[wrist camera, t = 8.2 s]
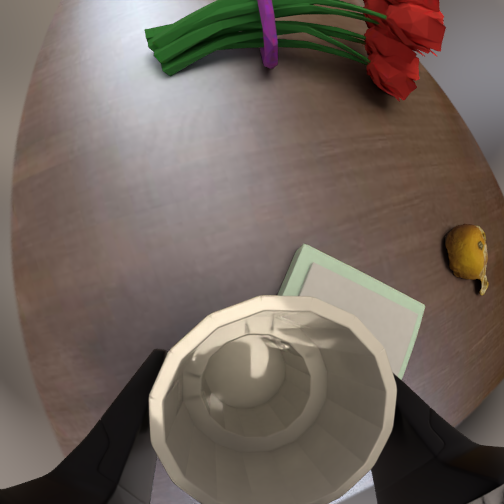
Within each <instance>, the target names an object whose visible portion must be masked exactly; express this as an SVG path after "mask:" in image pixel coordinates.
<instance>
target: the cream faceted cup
mask: <svg viewBox="0 0 504 504" xmlns="http://www.w3.org/2000/svg"><path fill="white" fill-rule="evenodd" d="M396 387H397V386H396V382H395V379H394V375H393V372H392V369H391V366H390V362H389V359H388V356H387V353H386V350H385V349H384V347H383V345H382V344H381V343H380V342H379V341H378V340H377V339H376V337H375V336H374V335H373V334H372V333H371V332H370V331H369V330H368V328H367V327H366V326H365V325H364V324H363V323H362V322H361V321H360V320H359V318H358V317H356V316H355V315H354V314H351V313H349V312H347V311H345V310H342V309H340V308H338V307H336V306H333V305H331V304H329V303H327V302H325V301H322V300H320V299H318V298H316V297H312V296H279V295H262V296H257V297H254V298H251V299H249V300H246V301H243V302H241V303H238V304H235V305H232V306H230V307H227V308H224V309H221V310H219V311H216V312H213V313H211V314H210V315H207V316H206V317H205V318H204V319H203V320H202V321H201V322H200V323H199V324H198V325H196V326H195V327H194V328H193V329H192V330H191V331H190V332H189V333H188V334H186V335H185V336H184V337H183V338H182V339H181V340H180V341H179V342H178V343H176V344H175V345H174V346H173V347H172V348H171V349H170V351H169V352H168V354H167V356H166V358H165V360H164V362H163V365H162V367H161V369H160V371H159V374H158V376H157V378H156V380H155V383H154V385H153V387H152V390H151V392H150V394H149V396H150V397H149V422H150V440H151V444H152V446H153V448H154V450H155V452H156V454H157V456H158V458H159V459H160V461H161V463H162V465H163V466H164V468H165V470H166V472H167V473H168V475H169V477H170V478H171V480H172V482H174V484H175V485H177V486H178V487H179V488H181V489H182V490H183V491H185V492H186V493H187V494H189V495H190V496H191V497H193V498H194V499H196V500H197V501H199V502H200V503H201V504H328V503H330V502H332V501H334V500H336V499H338V498H340V497H341V496H343V495H344V494H345V493H346V492H347V491H349V490H350V489H351V488H352V487H353V486H354V485H355V484H356V483H357V482H358V481H359V480H360V479H361V478H362V477H364V476H365V475H366V474H367V473H368V472H369V471H370V470H371V469H372V467H373V466H374V465H375V463H376V461H377V459H378V457H379V455H380V454H381V452H382V450H383V448H384V446H385V444H386V442H387V440H388V438H389V436H390V434H391V431H392V428H393V423H394V415H395V405H396V395H397V388H396Z"/></svg>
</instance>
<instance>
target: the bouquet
mask: <svg viewBox="0 0 504 504" xmlns="http://www.w3.org/2000/svg"><path fill="white" fill-rule="evenodd" d="M363 1H364V3H365V7H360V6H356V5H353V4H350V3H346V2H343V1H339V0H217V1H215V2H213V3H211V4H209V5H207V6H205V7H203V8H201V9H199V10H197V11H195V12H193V13H191V14H189V15H188V16H186V17H184V18H182V19H180V20H179V21H177V22H175V23H174V24H170V25H165V26H160V27H155V28H151V29H145V34H146V39H147V42H148V47H149V48H150V49H151V50H152V51H153V52H154V56H155V57H156V59H157V60H158V61H159V62H160V63H161V66H162V70H163V72H165V73H166V74H168V75H169V76H172V75H173V74H175V73H177V72H178V71H180V70H182V69H183V68H185V67H187V66H188V65H190V64H192V63H194V62H195V61H197V60H199V59H201V58H203V57H205V56H206V55H208V54H210V53H212V52H214V51H216V50H225V49H236V48H258V47H260V52H261V56H262V61H263V64H264V66H265V67H268V68H271V69H272V68H274V67H275V66H276V65H278V47H293V48H310V49H314V50H318V51H323V52H327V53H331V54H335V55H338V56H342V57H346V58H349V59H352V60H355V61H357V62H360V63H362V64H365V65H367V75H369V76H371V78H372V80H373V82H374V84H376V85H377V86H378V87H379V88H380V89H382V90H383V91H385V92H386V93H388V94H390V95H392V96H394V97H395V98H396V99H397V100H398V101H399V102H400V100H399V98H401V99H402V100H405V99H406V98H407V96H408V95H409V94H410V93H411V92H412V91H413V90H415V89H416V88H417V86H416V85H415V82H414V81H413V80H415V81H416V80H419V69H418V65H419V58H417V57H415V56H416V53H415V52H414V51H417V52H419V53H420V54H421V55H423V54H422V53H421V52H420V51H423V52H425V53H429V52H432V51H431V50H430V48H431V49H434V50H436V51H441V44H442V40H443V36H444V32H445V29H446V27H445V26H444V25H443V22H442V21H444V20H443V17H444V16H443V15H442V13H441V12H440V10H439V0H363ZM314 4H320V5H326V6H332V7H338V8H343V9H348V10H353V11H358V12H362V13H363V14H359V13H355V12H350V11H344V10H339V9H330V8H325V7H320V6H314ZM302 14H335V15H342V16H346V17H351V18H355V19H359V20H363V21H365V22H366V24H367V27H368V28H369V29H367V31H366V33H365V34H364V36H363V35H360V34H357V33H354V32H351V31H348V30H344V29H341V28H337V27H332V26H326V25H320V24H313V23H306V22H297V21H275V18H279V17H286V16H293V15H302ZM239 31H242V32H239ZM299 32H305V33H308V34H311V35H313V36H316V37H318V38H320V39H323V40H325V41H327V42H329V43H332V44H334V45H336V46H338V47H340V48H342V49H344V50H346V51H348V52H350V53H352V54H354V55H356V56H358V57H360V58H361V59H363V60H365V61H367V62H365V61H363V60H361V59H359V58H357V57H355V56H353V55H351V54H349V53H347V52H344V51H341V50H338V49H334V48H331V47H327V46H324V45H320V44H316V43H312V42H308V41H299V40H287V39H277V35H283V34H291V33H299ZM327 35H328V36H327ZM348 35H349V36H348ZM329 36H332V37H337V38H341V39H345V40H349V41H353V42H357V43H361V44H364V45H365V50H366V51H367V54H368V55H369V56H368V58H366V57H365V56H363V55H361V54H360V53H358V52H356V51H355V50H353V49H351V48H349V47H348V46H346V45H344V44H342V43H340V42H338V41H337V40H335V39H333V38H331V37H329ZM351 36H353V37H351ZM354 37H357V38H360V39H364V40H365V41H363V40H360V39H357V38H354ZM362 46H363V45H362ZM417 49H418V50H417ZM412 50H413V51H412ZM419 50H420V51H419ZM432 53H433V52H432ZM433 54H434V55H436V54H435V53H433ZM436 56H437V55H436Z"/></svg>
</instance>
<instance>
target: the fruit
mask: <svg viewBox="0 0 504 504" xmlns="http://www.w3.org/2000/svg"><path fill="white" fill-rule="evenodd" d="M485 241H486V235H485V232H484V231H483V230H482V229H481V227H480V226H474V225H470V224H463V225H458V226H456V227H455V228H453V229H452V230H451V231H449V232H448V234H446V236H445V244H446V248H447V250H448V253H449V256H448V257H449V260H450V264H449V268H451V270H453V271H454V275H455V276H457V278H458V277H461V278H464V279H476V278H477V279H480V280H481V282H482V288H481V291H480V292H479V294H480V295H483V294H484V293H485V292H486V290H487V287H488V284H489V283H488V281H487V278H486V276H485V271H486V263H487V260H488V253H487V244H486V242H485ZM478 291H479V290H478Z"/></svg>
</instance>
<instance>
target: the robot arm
mask: <svg viewBox="0 0 504 504" xmlns="http://www.w3.org/2000/svg"><path fill="white" fill-rule="evenodd" d="M166 356H167V351H166V350H163V349H155V350H153V352H152V353H151V354H150V355H149V357H148V358H147V359H146V360H145V362H144V363H143V364H142V366H141V367H140V368H139V369H138V371H137V372H136V373H135V375H134V376H133V377H132V378H131V380H130V381H129V382H128V384H127V385H126V386H125V387H124V389H123V390H122V391H121V393H120V394H119V395H118V396H117V398H116V399H115V400H114V402H113V403H112V404H111V406H110V407H109V408H108V409H107V411H106V412H105V413H104V415H103V416H102V417H101V420H99V421H98V422H97V424H96V425H95V426H94V428H93V429H92V430H91V431H90V433H89V434H88V435H87V436H86V437H85V439H84V440H83V441H82V442H81V443H80V444H79V445H78V446H77V447H76V448H75V449H74V450H73V451H72V452H71V453H70V454H69V455H68V456H67V457H66V458H65V459H64V460H63V461H62V462H61V463H60V464H59V465H58V466H57V467H56V468H55V469H54V470H52V471H51V472H50V473H48V474H46V475H44V476H42V477H39V478H37V479H34V480H31V481H28V482H25V483H22V484H19V485H16V486H13V487H9V488H6V489H0V504H150V500H151V493H152V486H153V480H154V473H155V467H156V461H157V454H156V452H155V450H154V448H153V446H152V444H151V440H150V422H149V397H150V396H149V394H150V392H151V390H152V387H153V385H154V383H155V380H156V378H157V376H158V374H159V371H160V369H161V367H162V365H163V362H164V360H165V358H166ZM393 375H394V379H395V382H396V386H397V387H396V388H397V395H396V405H395V415H394V423H393V428H392V431H391V434H390V436H389V438H388V440H387V442H386V444H385V446H384V448H383V450H382V452H381V454H380V455H379V457H378V459H377V461H376V463H375V465H374V466H373V467H372V469H371V472H372V476H373V482H374V487H375V492H376V498H377V504H504V447H493V446H484V445H479V444H476V443H474V442H472V441H471V440H470V439H468V438H467V437H466V436H464V435H463V434H462V433H460V432H459V431H458V430H456V429H455V428H454V427H453V426H451V425H450V424H449V423H448V422H446V421H445V420H444V419H443V418H442V417H441V416H439V415H438V414H437V413H436V412H435V411H434V410H433V409H432V408H430V406H428V405H427V404H426V403H425V402H424V401H423V400H422V399H421V398H420V397H419V396H418V395H417V394H416V393H415V392H413V391H412V390H411V389H410V388H409V387H408V386H407V385H406V384H405V383H404V382H403V381H402V380H401V379H400V378H398V377H397V376H396V375H395V374H394V373H393Z"/></svg>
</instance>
